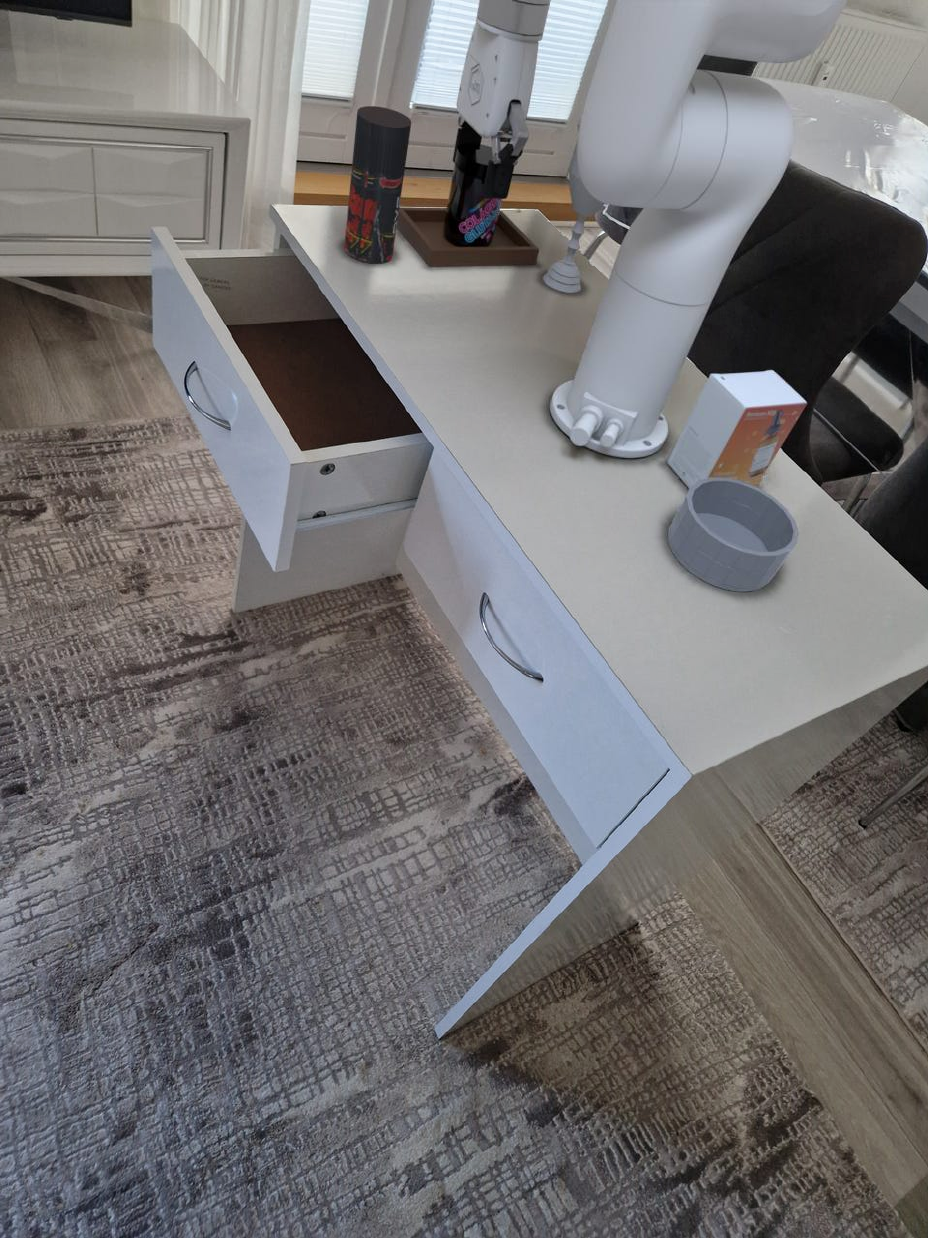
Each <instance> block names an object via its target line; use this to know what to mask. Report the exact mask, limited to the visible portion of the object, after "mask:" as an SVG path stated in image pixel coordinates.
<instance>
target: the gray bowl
mask: <svg viewBox="0 0 928 1238" xmlns="http://www.w3.org/2000/svg"><path fill="white" fill-rule="evenodd" d="M799 534H800V533H799V529H798V526H797V522H796V519H795V518H794V517H793V516H792V514H791V513H790V511H789V510H788V509H787V507H786V506H784V505H783V504H782V503H781V502H780V501H779V500H778V499H777V498H776V497H774V496H772V495H771V494H770V493H768V492H766V491H765V490H763V489H761V488H760V487H758V486H757V487H755V486H753V485H751V484H748V483H746V482H744V481H740V480H735V479H731V478H726V477H710V478H706V479H702V480H699V481H697V482H696V483H695V484H693V485H692V486H691V487H690V488H688V490H687V492H686V494H685V496H684V497H683V500H682V501H681V504H680V506H679V507H678V509H677V511H676V513H675V515H674V517H673V518H672V520H671V524H670V526H669V527H668V531H667V541H668V542H667V543H668V546H669V549H670V550H671V552H672V554H673V555H674V557H675V559H676V560H677V561H678V562H679V564H680V565H681V566H682V567H684V568H685V569H686V570H687V571H688V572H689V573H691V574H692V575H693V576H694V577H696V578H698V579H699V580H700V581H701V580H702V581H703V582H704V583H707V584H709V585H711V586H714V587H716V588H719V589H723V590H726V591H731V592H738V593H742V592H743V593H745V592H754V591H757V590H760V589H763V588H764V587H766V586H767V585H768V584H769V583H770V582H771V581H772V579H773V578H774V577H775V576H776V574H777V573H778V571H779V570H780V569H781V568H782V565H783V564H784V563H785V562H786V560H787V558H789V556H790V554H791V553H792V552H793V550H794V548H795V547H796V545H797V543H798V539H799Z"/></svg>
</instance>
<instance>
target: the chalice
mask: <svg viewBox="0 0 928 1238" xmlns="http://www.w3.org/2000/svg"><path fill="white" fill-rule="evenodd" d="M576 122H577V124H576V125H577V131H578V132H577V133H579V128H580V123H581V118H580V119H578V120H577V121H576ZM577 142H578V138H577V139H576V143H575V146H574V148H573V153H572V156H571V160H570V164H569V169H568V170H569V171H568V179H569V181H568V183H569V194H570V199H571V207H572V210H573V211H574V212H576V213H577V217H576V218H577V219H576V222H575V223H574V226H572V227H571V236H572V237H571V238H570V240H569V241H567V242H566V246H567V251H566V255H565V257H564V258H562V260H561V259H559V260H557V261H555V262H554V263H552V264H551V267H550V268H549V269H548V270H547V272H546V273H545V274H544V275H543V277H542V280H543V282H544V283H545V284H546V285H547V286H548V287H550V288H551V289H553V290H556V291H557V292H558V291H559V292H562V293H568V294H574V293H575V294H576V293H577V292H580V291H581V289H582V285H581V271H580V269H579V266H578V265H577V264H576V262H575V261H574V260H575V255H576V253H577V251H579V250H580V249H581V246H580V239H581V237H582V235H584V234H585V230H584V228H585V222H586V220H587V218H588V217H593V216H595V215H596V214H597V213H598V212H599V211H600V210H601V209H602V208H603V207H604V206H605V204H606V203H604V202H601V201H599V200H597V199H596V198H594V197H593V196H592V195H591V194H590V193H589V192H588V191H587V189H586V188H585V187H584V185H583V183H582V180H581V178H580V175H579V171H578V164H577Z"/></svg>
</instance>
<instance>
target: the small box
mask: <svg viewBox="0 0 928 1238" xmlns="http://www.w3.org/2000/svg"><path fill="white" fill-rule="evenodd" d="M807 405H808V402H807V401H806V400H805V398H804V397H802V396H801V395H800V394H799V393H798V392H797V391H796V390H795V389H794V388H793V387H792V386H791V385H790V384H789V383H788V382H787V381H785V379H783V378H782V377H781V376H780V375H779V374H778V373H777V372H775V371H774V370H772V369H767V370H764V371H750V372H735V373H733V372H732V373H710V374H709V377H708V379H707V380H706V382H705V385H704V386H703V389H702V390H701V393H700V394H699V397H698V399H697V401H696V403H695V405H694V407H693V408H692V411H691V413H690V415H689V417H688V419H687V421H686V423H685V426H684V427H683V430H682V431H681V433H680V435H679V438H678V440H677V441H676V443H675V446H674V447H673V450H672V451H671V454H670V456H669V458H668V460H667V465H668V466H669V467H670V468H671V470H673V472H674V473H675V474H676V475H677V476H678V478H680V479H681V481H682V482H683V483H684V485H686V487H687V488H688V489H689V488H690V487H691V486H692V485H693V484H695V483H696V482H697V481H699V480H702V479H706V478H710V477H726V478H731V479H735V480H740V481H744V482H746V483H748V484H751V485H753V486H755V487H758V485H759V483H760V482H761V481H762V479H763V477H764V475H765V474H766V473H767V471H768V469H769V467H770V465H771V464H772V462H773V461H774V459H775V457H776V456H777V454H778V453H779V451H780V449H781V447H782V446H783V444H784V442H785V441H786V439H787V438H788V436H789V434H790V433H791V431H792V430H793V428H794V426H795V424H796V423H797V421H798V420H799V418H800V417H801V415H802V413H803V412H804V410H805V408H806V406H807Z"/></svg>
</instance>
